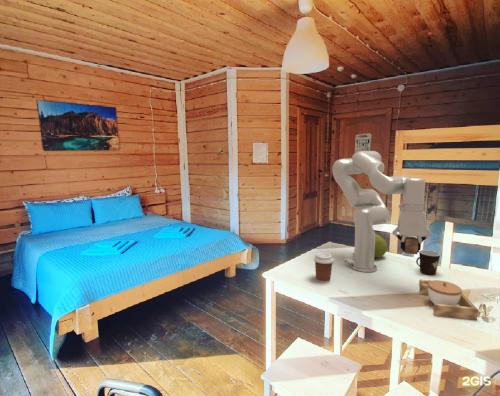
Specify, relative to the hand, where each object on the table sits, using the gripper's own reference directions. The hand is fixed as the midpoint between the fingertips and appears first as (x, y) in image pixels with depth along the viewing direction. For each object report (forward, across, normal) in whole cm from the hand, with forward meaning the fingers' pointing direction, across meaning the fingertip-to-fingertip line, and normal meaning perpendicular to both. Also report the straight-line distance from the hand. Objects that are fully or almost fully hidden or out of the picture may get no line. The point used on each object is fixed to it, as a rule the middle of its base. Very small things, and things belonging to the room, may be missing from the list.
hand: (410, 250), depth 121 cm
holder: (+18, +11, -5) cm, 22 cm away
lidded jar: (+18, +10, -10) cm, 23 cm away
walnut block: (+1, 0, 0) cm, 1 cm away
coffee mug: (+18, +12, +23) cm, 31 cm away
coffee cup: (+17, -35, +1) cm, 39 cm away
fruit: (+17, -11, +40) cm, 44 cm away
